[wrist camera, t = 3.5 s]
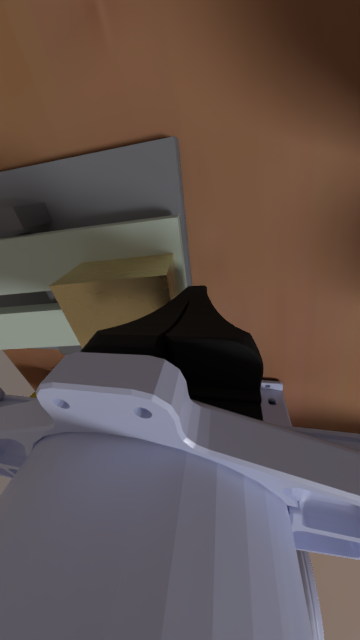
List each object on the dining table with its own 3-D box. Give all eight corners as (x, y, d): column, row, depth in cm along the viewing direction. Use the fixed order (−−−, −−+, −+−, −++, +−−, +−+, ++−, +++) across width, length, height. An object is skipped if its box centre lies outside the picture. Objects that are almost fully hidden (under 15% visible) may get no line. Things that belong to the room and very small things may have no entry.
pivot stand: (177, 139, 11) (161, 126, 8) (198, 348, 20) (193, 376, 17) (-87, 192, 16) (-154, 195, 13) (24, 342, 25) (-3, 363, 22)
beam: (180, 212, 13) (177, 217, 11) (192, 322, 18) (191, 339, 16) (-99, 249, 16) (-139, 258, 14) (-22, 336, 21) (-44, 351, 19)
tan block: (174, 248, 13) (166, 275, 9) (183, 313, 16) (179, 353, 12) (87, 258, 14) (49, 285, 10) (110, 318, 16) (87, 357, 13)
